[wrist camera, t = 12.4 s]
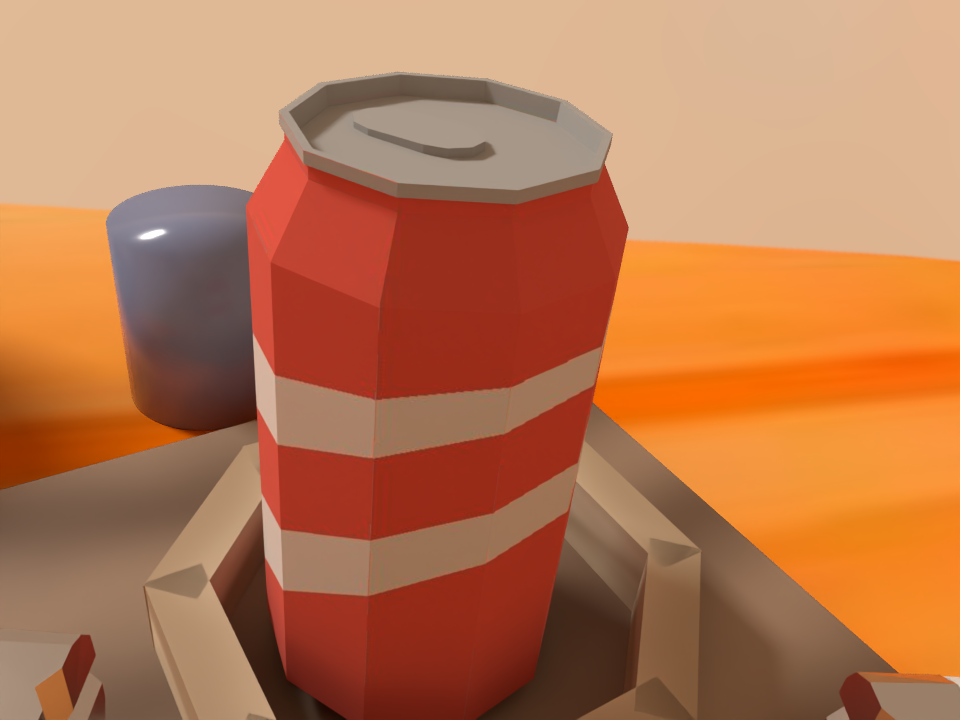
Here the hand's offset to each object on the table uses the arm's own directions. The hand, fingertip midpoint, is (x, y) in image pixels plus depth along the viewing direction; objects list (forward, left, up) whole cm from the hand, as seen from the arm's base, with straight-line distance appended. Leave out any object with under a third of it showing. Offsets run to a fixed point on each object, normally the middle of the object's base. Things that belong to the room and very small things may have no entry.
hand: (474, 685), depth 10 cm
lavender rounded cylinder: (-20, +3, -10) cm, 22 cm away
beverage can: (-7, +3, -9) cm, 11 cm away
